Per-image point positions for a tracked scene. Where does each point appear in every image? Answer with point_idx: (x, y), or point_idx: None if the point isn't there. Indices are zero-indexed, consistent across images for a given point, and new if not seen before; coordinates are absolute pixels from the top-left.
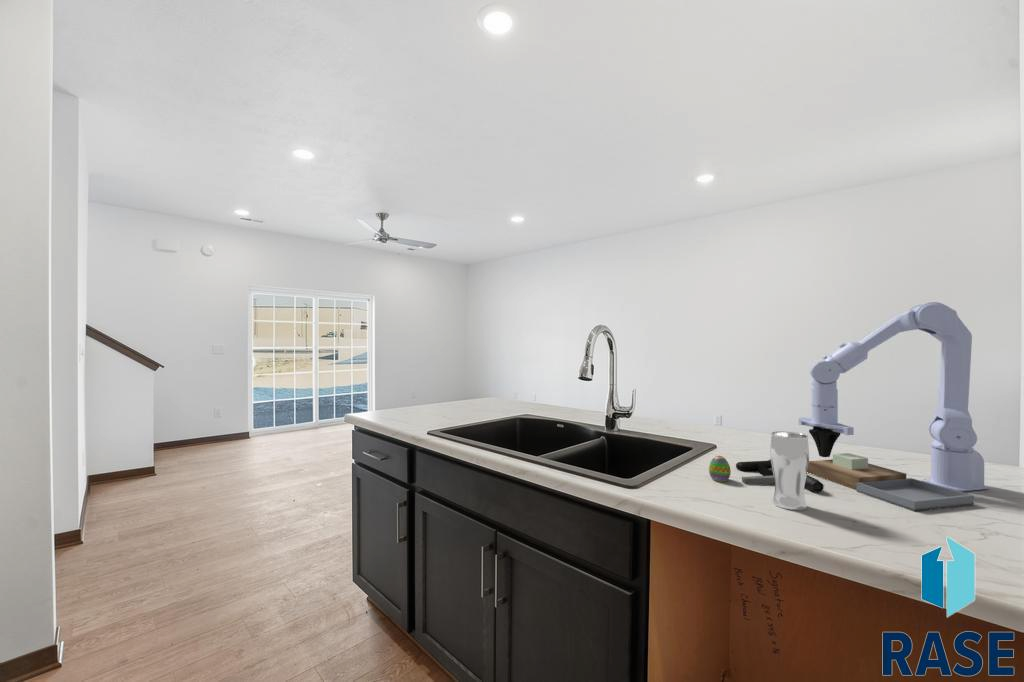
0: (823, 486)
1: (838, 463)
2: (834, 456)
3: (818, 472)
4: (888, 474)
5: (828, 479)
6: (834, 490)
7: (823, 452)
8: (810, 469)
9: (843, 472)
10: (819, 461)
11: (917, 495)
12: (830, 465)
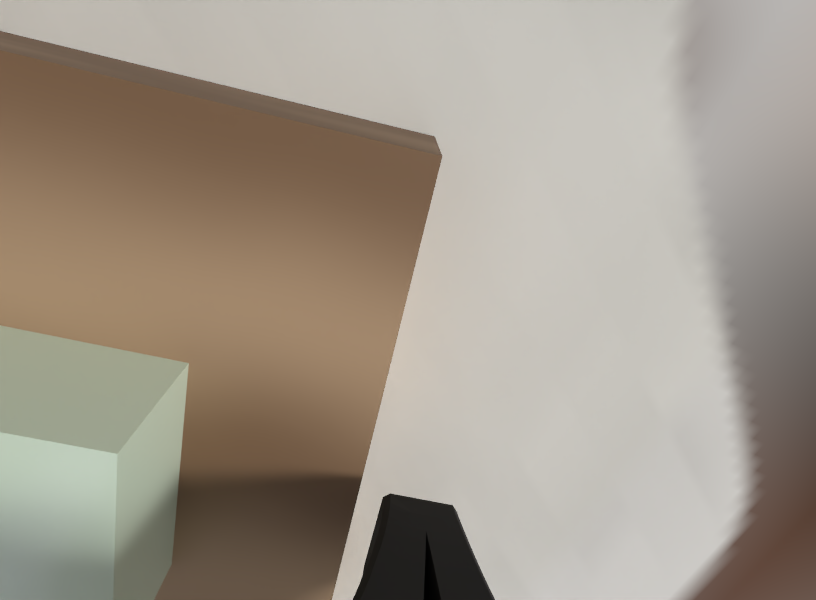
0: None
1: (82, 362)
2: (97, 425)
3: (244, 96)
4: None
5: (113, 60)
6: None
7: (377, 540)
8: (371, 128)
9: None
10: (346, 330)
11: None
12: (138, 258)
